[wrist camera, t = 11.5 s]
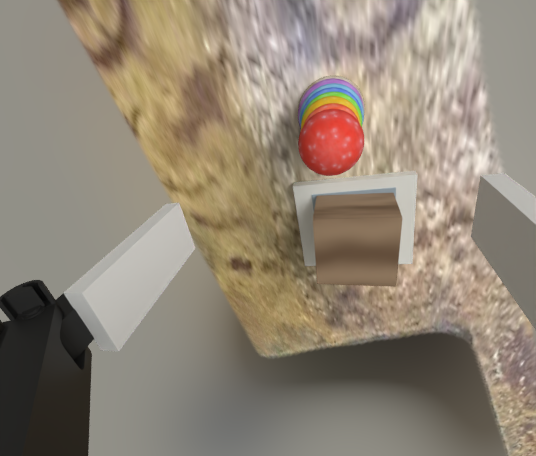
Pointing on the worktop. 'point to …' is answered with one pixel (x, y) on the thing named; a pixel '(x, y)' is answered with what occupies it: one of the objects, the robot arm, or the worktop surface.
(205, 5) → the worktop surface
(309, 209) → the baseplate
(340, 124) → the stacking toy
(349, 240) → the walnut block
